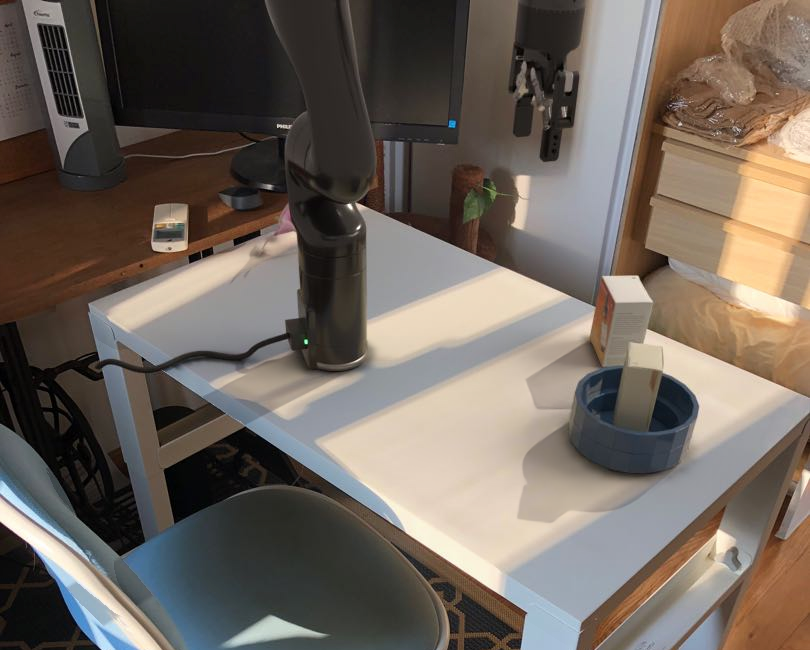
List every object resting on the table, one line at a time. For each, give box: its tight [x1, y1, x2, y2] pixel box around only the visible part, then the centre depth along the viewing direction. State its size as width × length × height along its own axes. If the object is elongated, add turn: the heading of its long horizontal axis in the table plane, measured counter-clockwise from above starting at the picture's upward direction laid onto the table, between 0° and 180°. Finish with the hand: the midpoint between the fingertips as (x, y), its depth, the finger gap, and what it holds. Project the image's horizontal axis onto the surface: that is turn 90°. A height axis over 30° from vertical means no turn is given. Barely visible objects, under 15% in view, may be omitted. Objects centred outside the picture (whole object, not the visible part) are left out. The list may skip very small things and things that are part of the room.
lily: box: [258, 202, 296, 255], centre depth 156 cm, size 12×12×10 cm
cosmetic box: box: [611, 342, 665, 432], centre depth 115 cm, size 6×4×12 cm
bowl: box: [567, 365, 700, 474], centre depth 118 cm, size 15×15×6 cm
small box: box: [589, 275, 654, 368], centre depth 132 cm, size 8×6×10 cm
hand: (534, 147), depth 112 cm, fingers open, 8 cm apart
